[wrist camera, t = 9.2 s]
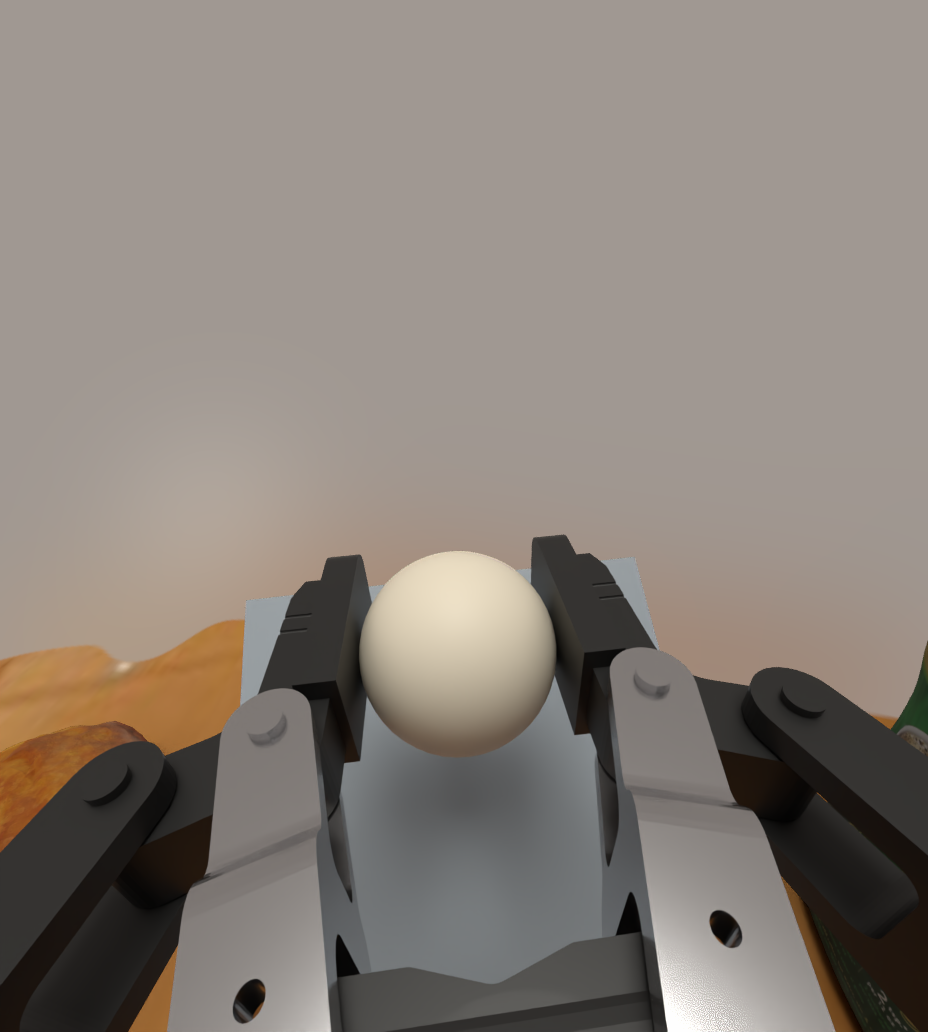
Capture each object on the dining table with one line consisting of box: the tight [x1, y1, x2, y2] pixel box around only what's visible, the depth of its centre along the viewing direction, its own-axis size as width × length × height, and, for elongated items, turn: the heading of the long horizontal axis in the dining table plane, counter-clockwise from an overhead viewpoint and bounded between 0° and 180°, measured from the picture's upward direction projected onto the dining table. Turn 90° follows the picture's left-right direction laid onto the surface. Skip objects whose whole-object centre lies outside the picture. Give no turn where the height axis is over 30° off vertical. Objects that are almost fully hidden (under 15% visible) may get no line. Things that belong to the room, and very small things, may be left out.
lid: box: [240, 551, 659, 984], centre depth 10 cm, size 14×14×9 cm
